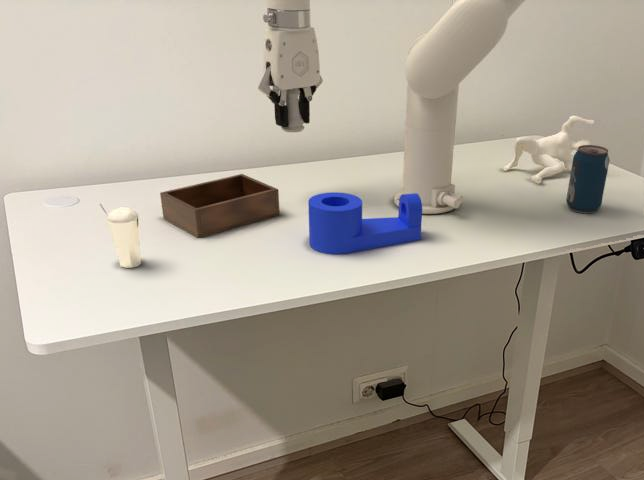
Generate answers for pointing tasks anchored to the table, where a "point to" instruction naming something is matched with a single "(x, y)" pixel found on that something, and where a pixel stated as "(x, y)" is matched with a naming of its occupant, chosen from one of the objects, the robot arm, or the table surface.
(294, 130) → the rook chess piece
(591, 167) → the soda can
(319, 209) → the bracket
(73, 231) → the table surface
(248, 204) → the crate
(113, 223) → the milkshake
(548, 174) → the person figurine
